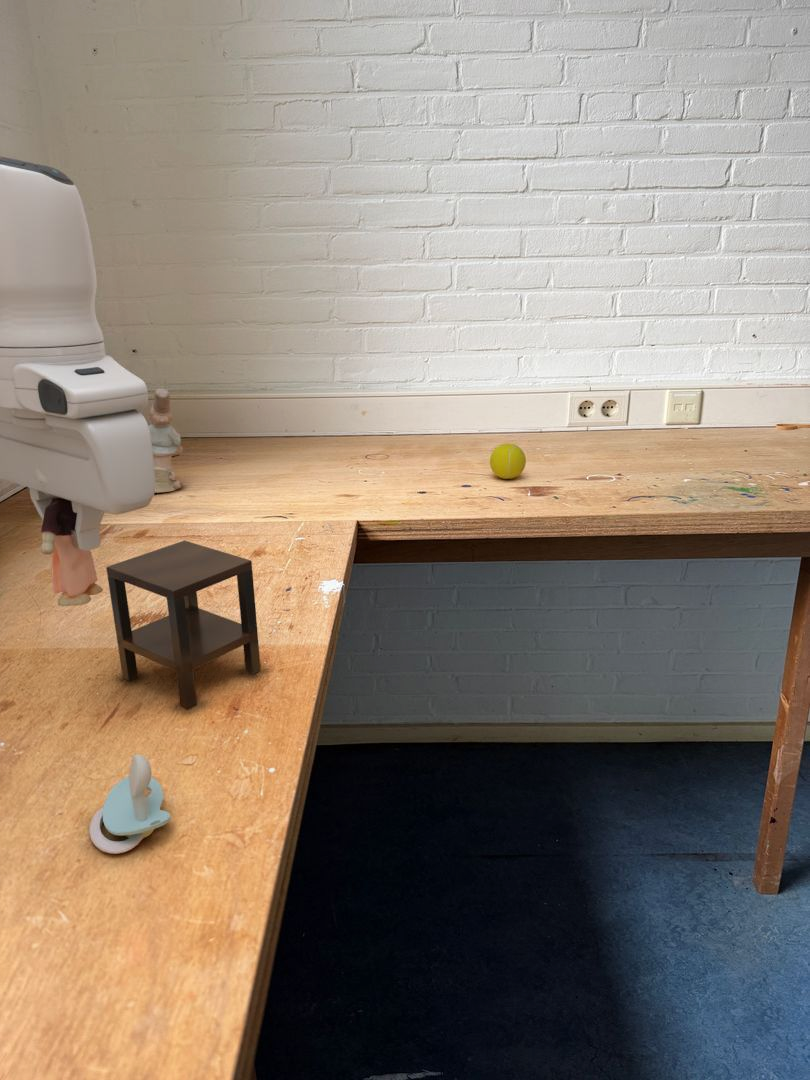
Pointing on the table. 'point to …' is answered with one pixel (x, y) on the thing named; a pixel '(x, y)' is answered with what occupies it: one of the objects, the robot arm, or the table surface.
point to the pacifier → (130, 809)
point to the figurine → (163, 442)
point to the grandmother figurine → (66, 553)
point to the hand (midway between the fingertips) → (73, 542)
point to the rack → (183, 612)
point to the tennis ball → (507, 461)
